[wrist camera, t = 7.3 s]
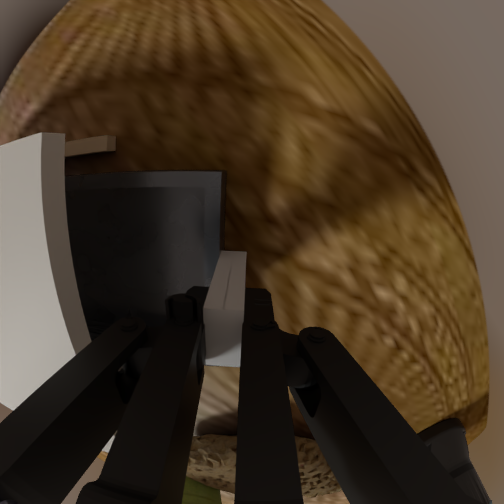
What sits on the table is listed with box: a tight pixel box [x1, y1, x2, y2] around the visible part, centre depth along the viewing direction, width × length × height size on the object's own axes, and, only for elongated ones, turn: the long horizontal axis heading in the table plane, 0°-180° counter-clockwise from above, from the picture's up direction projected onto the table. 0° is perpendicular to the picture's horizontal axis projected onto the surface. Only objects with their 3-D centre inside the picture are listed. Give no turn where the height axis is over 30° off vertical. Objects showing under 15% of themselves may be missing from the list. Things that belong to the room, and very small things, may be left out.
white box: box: [0, 132, 123, 453], centre depth 13 cm, size 14×19×9 cm
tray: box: [65, 170, 227, 366], centre depth 16 cm, size 16×12×3 cm
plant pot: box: [182, 476, 222, 504], centre depth 22 cm, size 9×9×9 cm
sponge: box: [186, 434, 342, 497], centre depth 22 cm, size 13×8×20 cm
